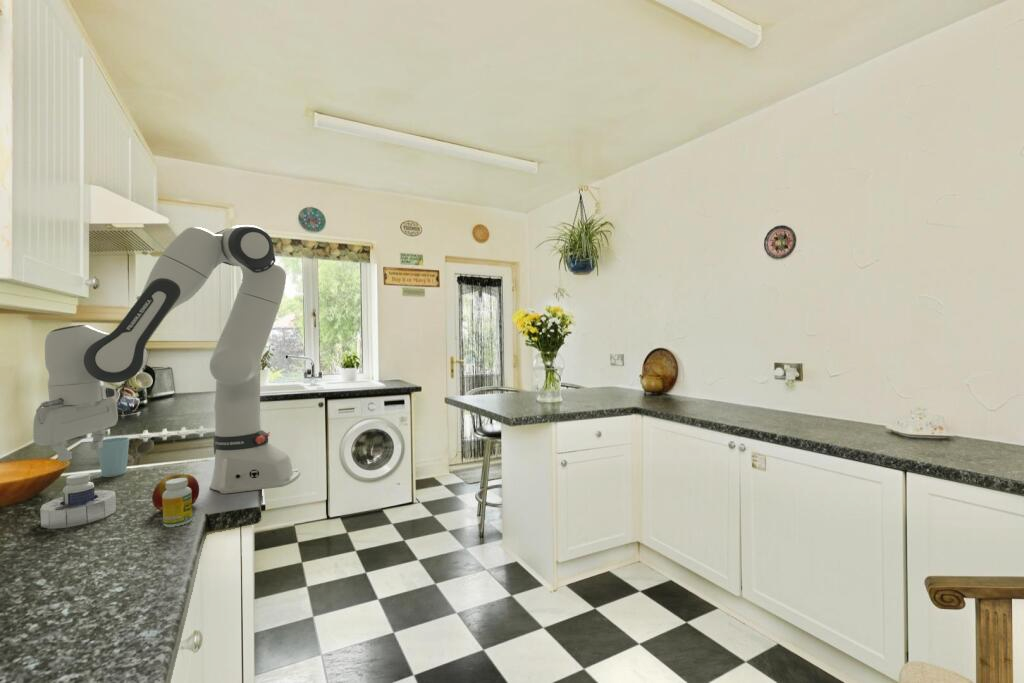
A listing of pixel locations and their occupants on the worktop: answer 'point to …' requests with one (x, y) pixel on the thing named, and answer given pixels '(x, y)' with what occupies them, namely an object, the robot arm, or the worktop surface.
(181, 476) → the fruit
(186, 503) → the supplement bottle
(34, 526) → the worktop surface
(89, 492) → the pill bottle
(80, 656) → the worktop surface
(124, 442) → the cup
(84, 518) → the disc
